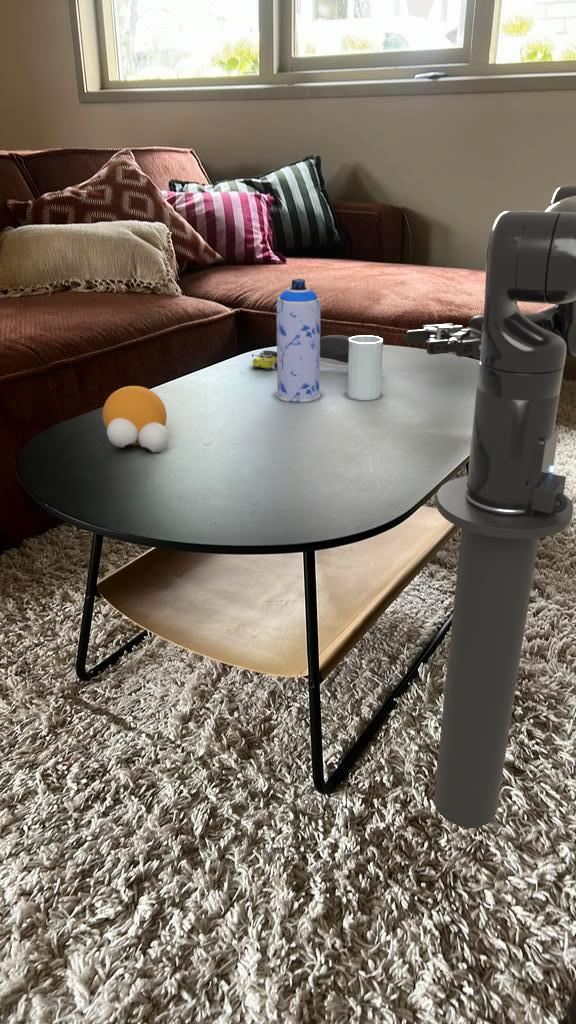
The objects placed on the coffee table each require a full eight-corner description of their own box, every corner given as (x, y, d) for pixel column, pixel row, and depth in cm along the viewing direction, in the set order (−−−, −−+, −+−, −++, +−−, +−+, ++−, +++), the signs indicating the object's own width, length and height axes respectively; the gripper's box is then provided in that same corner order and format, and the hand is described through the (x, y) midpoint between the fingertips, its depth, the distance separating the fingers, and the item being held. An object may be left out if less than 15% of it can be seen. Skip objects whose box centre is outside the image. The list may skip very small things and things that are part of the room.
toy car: (292, 359, 158) (292, 345, 157) (271, 371, 150) (271, 356, 149) (270, 357, 160) (270, 343, 159) (248, 369, 152) (248, 354, 151)
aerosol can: (294, 386, 141) (293, 274, 132) (329, 393, 137) (331, 278, 128) (267, 396, 135) (265, 280, 127) (303, 404, 131) (303, 285, 122)
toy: (94, 448, 120) (109, 452, 106) (95, 386, 119) (109, 382, 105) (153, 449, 124) (175, 453, 110) (154, 389, 122) (176, 385, 109)
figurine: (379, 380, 153) (314, 358, 158) (390, 332, 148) (322, 311, 153) (363, 390, 147) (296, 367, 152) (374, 340, 142) (305, 318, 147)
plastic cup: (386, 397, 135) (389, 341, 130) (357, 401, 132) (359, 344, 128) (369, 388, 139) (371, 334, 135) (341, 393, 137) (342, 337, 133)
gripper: (479, 307, 143) (400, 313, 139) (522, 322, 131) (437, 329, 127) (475, 346, 147) (398, 353, 142) (516, 365, 134) (434, 373, 130)
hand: (416, 342), depth 135 cm, fingers open, 8 cm apart
